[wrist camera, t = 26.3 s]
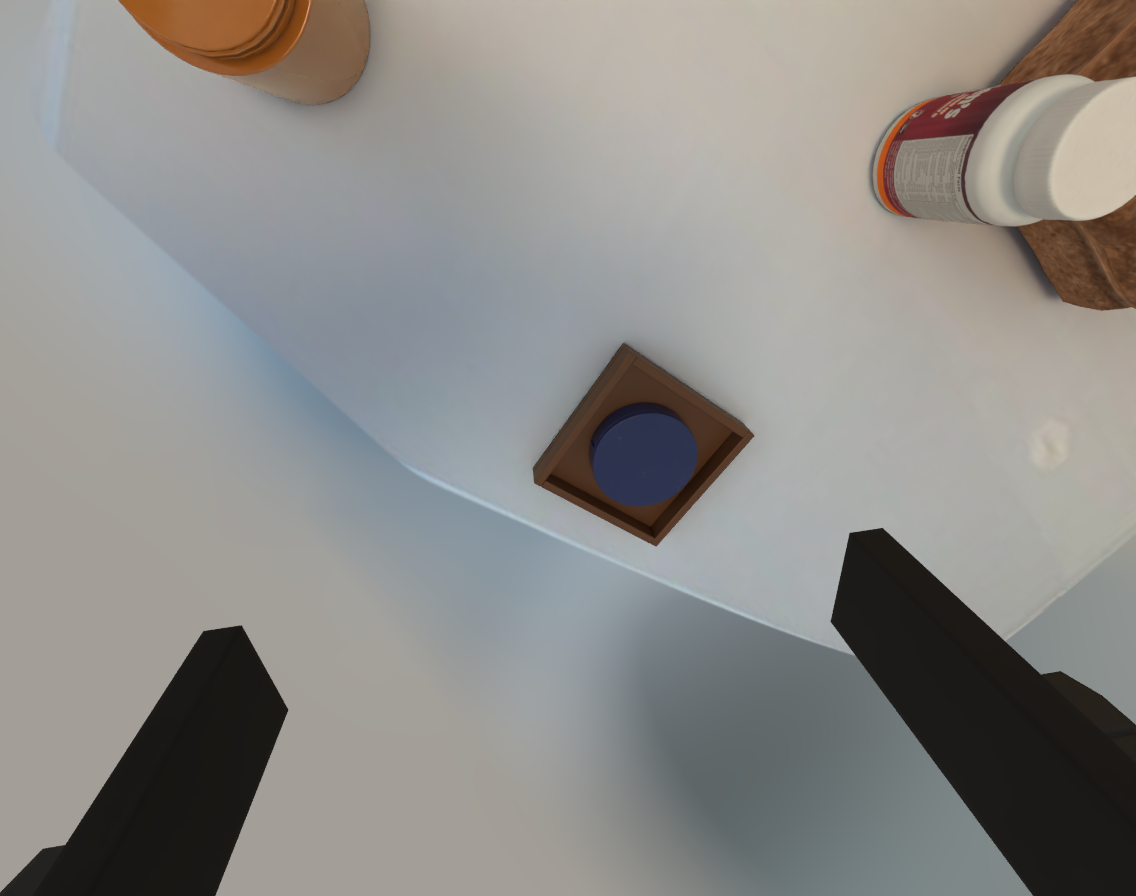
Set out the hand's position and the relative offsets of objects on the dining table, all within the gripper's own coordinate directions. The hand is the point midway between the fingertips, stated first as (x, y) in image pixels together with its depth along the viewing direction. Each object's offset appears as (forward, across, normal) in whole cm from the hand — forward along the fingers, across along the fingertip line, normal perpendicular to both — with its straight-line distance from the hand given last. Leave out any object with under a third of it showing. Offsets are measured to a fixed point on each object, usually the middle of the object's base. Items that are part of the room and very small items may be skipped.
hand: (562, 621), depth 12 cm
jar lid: (+22, +7, -10) cm, 25 cm away
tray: (+24, +7, -10) cm, 27 cm away
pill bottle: (+25, +25, +7) cm, 36 cm away
